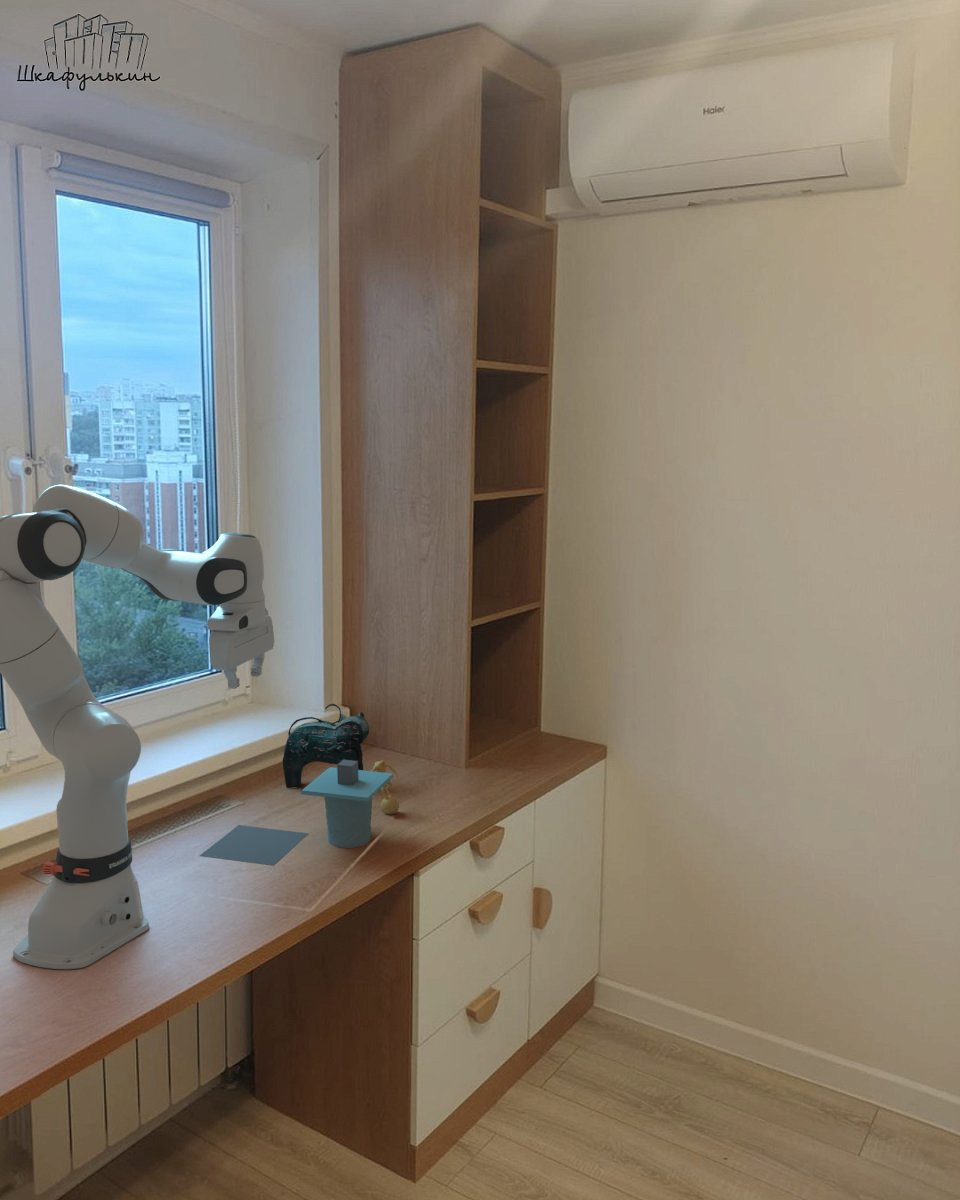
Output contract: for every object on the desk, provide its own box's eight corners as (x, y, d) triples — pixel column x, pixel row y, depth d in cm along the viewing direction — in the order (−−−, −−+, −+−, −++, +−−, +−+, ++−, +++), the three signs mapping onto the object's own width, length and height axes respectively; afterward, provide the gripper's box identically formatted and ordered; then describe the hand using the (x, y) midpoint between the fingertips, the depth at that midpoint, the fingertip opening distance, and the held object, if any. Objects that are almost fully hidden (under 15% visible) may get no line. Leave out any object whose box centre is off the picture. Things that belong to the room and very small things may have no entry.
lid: (367, 801, 208) (367, 778, 207) (301, 794, 212) (300, 771, 211) (392, 777, 221) (392, 755, 220) (330, 770, 225) (329, 748, 224)
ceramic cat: (371, 784, 251) (369, 701, 247) (365, 794, 244) (363, 709, 241) (288, 780, 253) (285, 698, 249) (280, 790, 246) (277, 706, 243)
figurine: (383, 822, 228) (382, 768, 226) (363, 815, 232) (362, 762, 230) (409, 810, 235) (408, 758, 232) (388, 804, 238) (388, 752, 236)
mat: (273, 868, 206) (273, 865, 206) (199, 858, 210) (199, 855, 210) (308, 836, 221) (308, 833, 221) (238, 827, 225) (238, 824, 225)
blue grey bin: (329, 854, 212) (328, 797, 210) (320, 834, 222) (318, 779, 219) (379, 847, 216) (378, 791, 213) (368, 828, 225) (367, 774, 223)
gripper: (252, 603, 222) (255, 668, 225) (202, 623, 203) (205, 693, 205) (280, 604, 220) (282, 670, 223) (232, 625, 201) (235, 696, 204)
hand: (245, 681), depth 214 cm, fingers open, 8 cm apart
